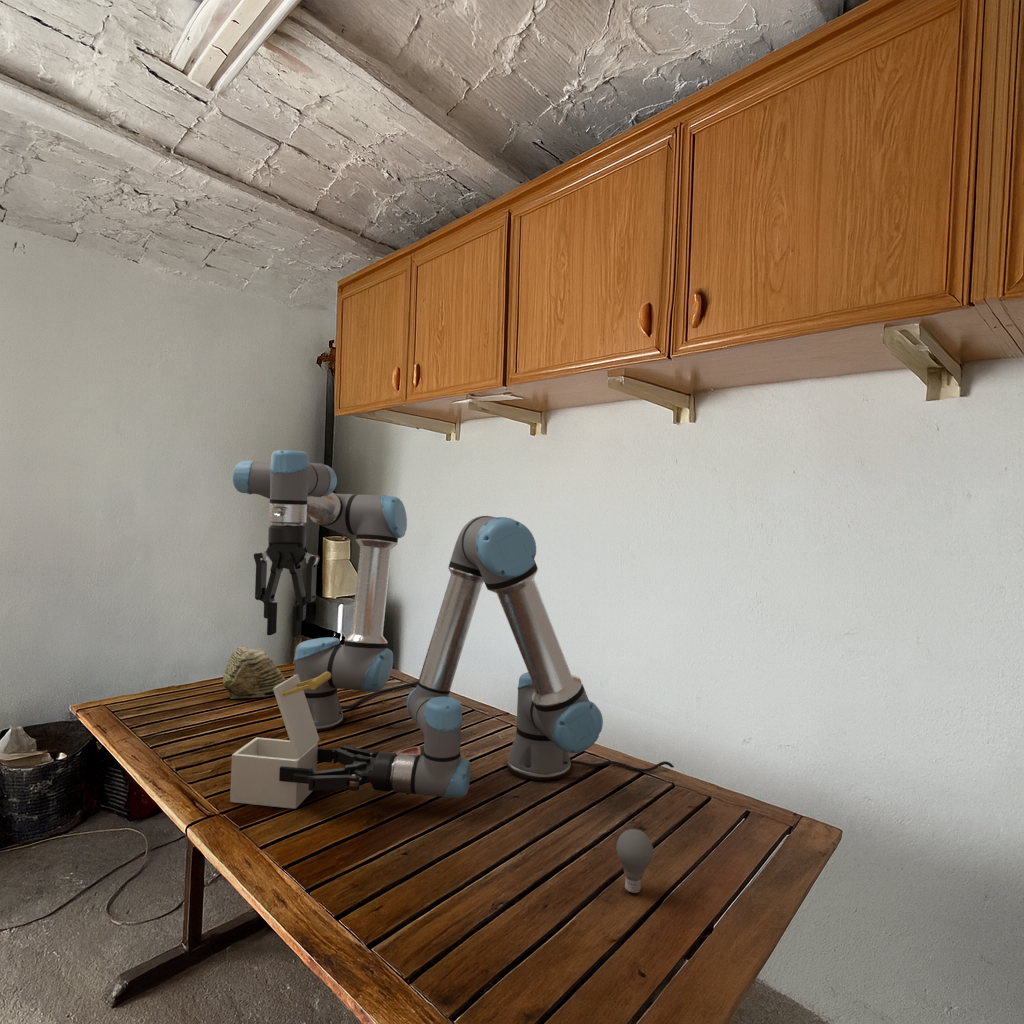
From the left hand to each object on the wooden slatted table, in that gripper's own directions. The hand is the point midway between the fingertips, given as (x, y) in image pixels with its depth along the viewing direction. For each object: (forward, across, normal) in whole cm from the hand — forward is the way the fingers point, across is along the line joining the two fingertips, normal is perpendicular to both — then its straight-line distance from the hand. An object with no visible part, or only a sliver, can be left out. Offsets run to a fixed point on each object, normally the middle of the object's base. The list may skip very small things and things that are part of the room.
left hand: (284, 634), depth 133 cm
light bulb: (+34, +72, -22) cm, 83 cm away
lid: (+17, +3, 0) cm, 17 cm away
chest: (+34, -1, 0) cm, 34 cm away
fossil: (+34, -37, +61) cm, 79 cm away
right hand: (+27, +3, 0) cm, 27 cm away
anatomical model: (+34, +20, +16) cm, 43 cm away
